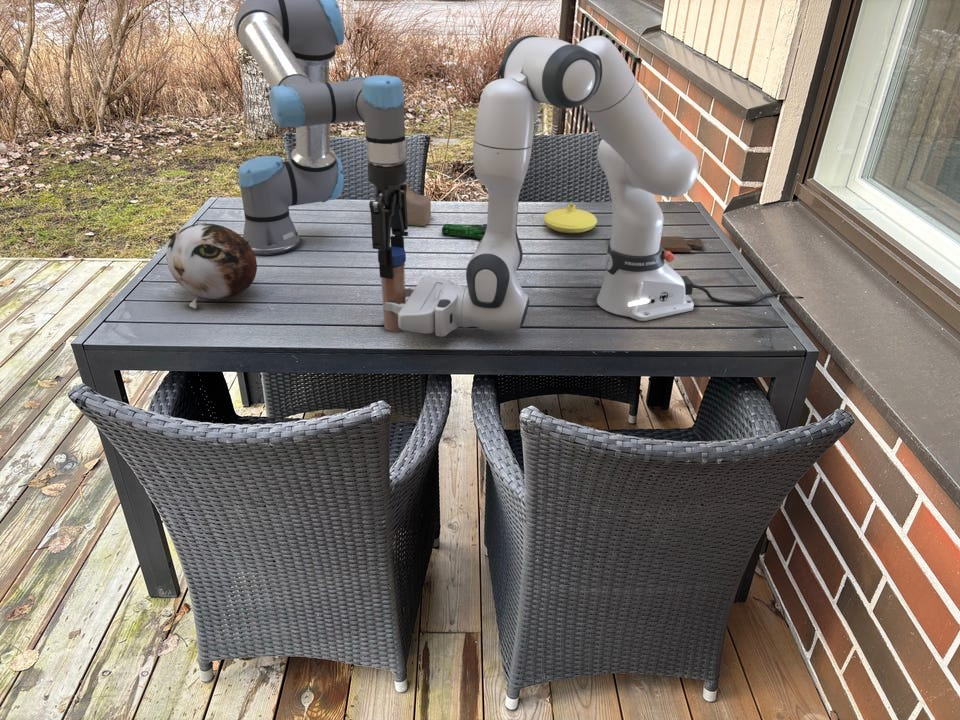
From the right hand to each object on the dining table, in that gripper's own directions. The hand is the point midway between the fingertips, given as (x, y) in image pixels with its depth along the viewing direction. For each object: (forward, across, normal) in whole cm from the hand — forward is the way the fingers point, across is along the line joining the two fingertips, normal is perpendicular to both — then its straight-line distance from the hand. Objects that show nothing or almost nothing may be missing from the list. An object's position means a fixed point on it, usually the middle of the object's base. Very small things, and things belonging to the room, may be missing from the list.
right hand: (390, 299), depth 154 cm
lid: (-1, 0, -11) cm, 11 cm away
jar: (-1, 0, +6) cm, 7 cm away
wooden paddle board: (-58, -62, +6) cm, 85 cm away
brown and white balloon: (+44, -5, +7) cm, 45 cm away
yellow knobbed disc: (-33, -70, +6) cm, 77 cm away
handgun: (-6, -61, +6) cm, 61 cm away
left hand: (-1, 0, -7) cm, 7 cm away
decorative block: (+16, -64, +6) cm, 67 cm away
